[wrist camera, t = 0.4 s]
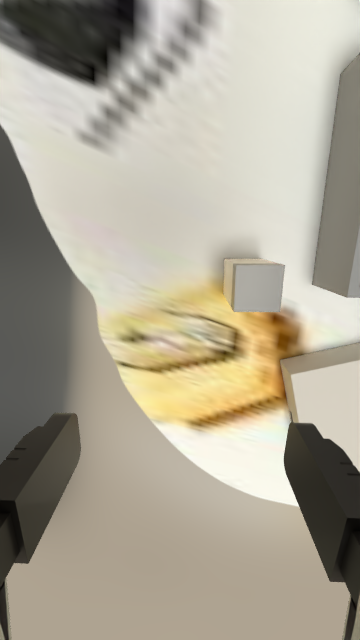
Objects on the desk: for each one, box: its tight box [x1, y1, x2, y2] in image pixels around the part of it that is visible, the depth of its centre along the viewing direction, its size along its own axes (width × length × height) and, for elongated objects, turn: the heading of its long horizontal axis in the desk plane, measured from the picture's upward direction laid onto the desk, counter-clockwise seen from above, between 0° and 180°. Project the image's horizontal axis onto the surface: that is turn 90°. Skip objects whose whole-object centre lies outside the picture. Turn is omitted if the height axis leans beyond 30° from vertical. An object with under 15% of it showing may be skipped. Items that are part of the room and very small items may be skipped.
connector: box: [223, 259, 285, 312], centre depth 30 cm, size 4×4×9 cm
